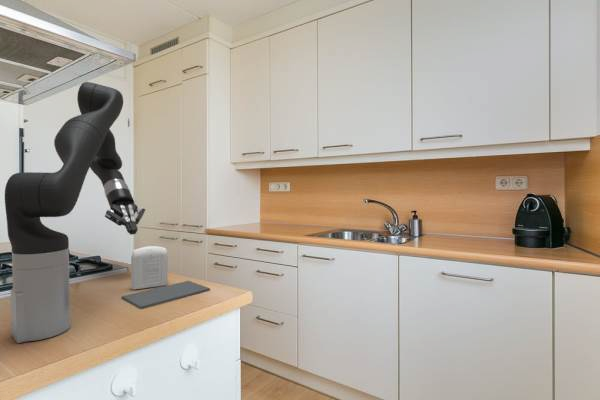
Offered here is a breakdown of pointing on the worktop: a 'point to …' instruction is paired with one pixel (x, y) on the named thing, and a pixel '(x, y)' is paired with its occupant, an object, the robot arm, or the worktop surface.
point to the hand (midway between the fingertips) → (133, 232)
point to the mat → (164, 294)
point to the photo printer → (149, 267)
